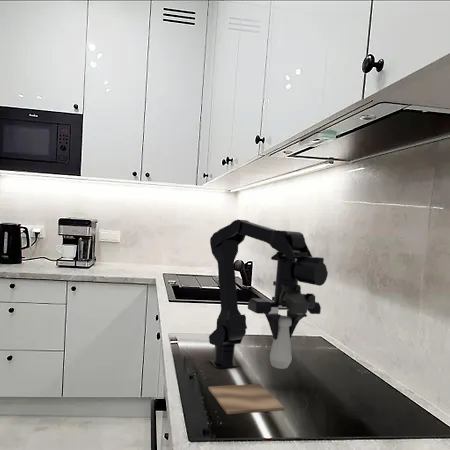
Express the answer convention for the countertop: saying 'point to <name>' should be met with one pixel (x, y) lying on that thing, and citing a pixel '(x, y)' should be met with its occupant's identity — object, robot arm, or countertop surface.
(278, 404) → the walnut board
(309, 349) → the countertop surface
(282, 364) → the salt shaker
